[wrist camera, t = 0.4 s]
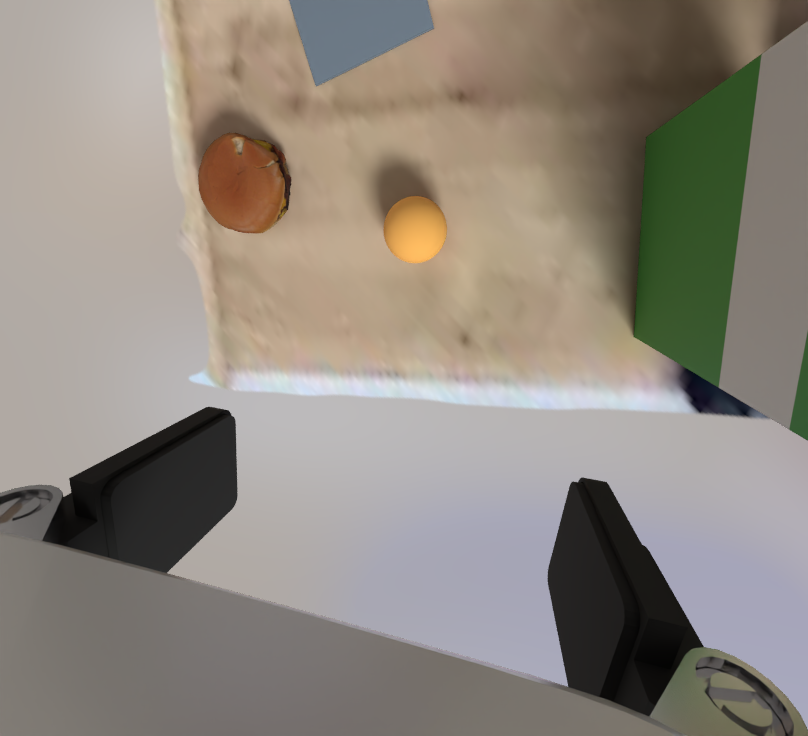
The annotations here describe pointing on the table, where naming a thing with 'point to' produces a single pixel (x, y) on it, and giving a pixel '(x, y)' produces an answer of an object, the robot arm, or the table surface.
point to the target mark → (355, 31)
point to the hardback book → (733, 236)
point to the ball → (415, 229)
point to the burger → (244, 183)
